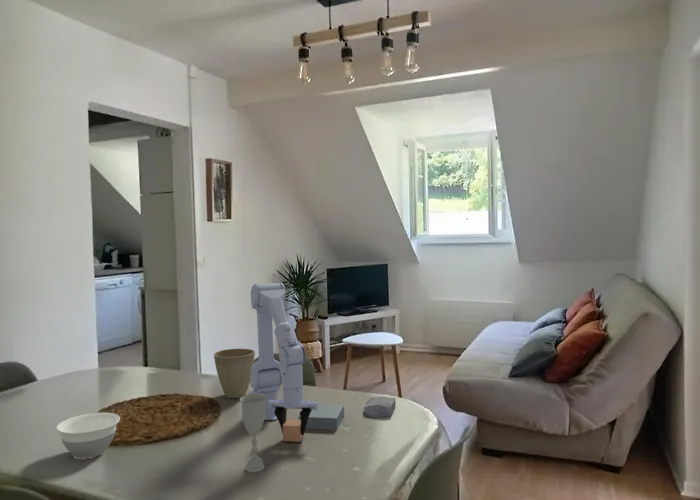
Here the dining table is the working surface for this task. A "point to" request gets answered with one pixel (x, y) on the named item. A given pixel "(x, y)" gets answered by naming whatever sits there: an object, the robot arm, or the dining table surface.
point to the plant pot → (234, 370)
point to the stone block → (380, 406)
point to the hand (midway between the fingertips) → (293, 433)
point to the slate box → (325, 417)
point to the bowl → (88, 433)
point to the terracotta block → (292, 430)
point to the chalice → (253, 425)
